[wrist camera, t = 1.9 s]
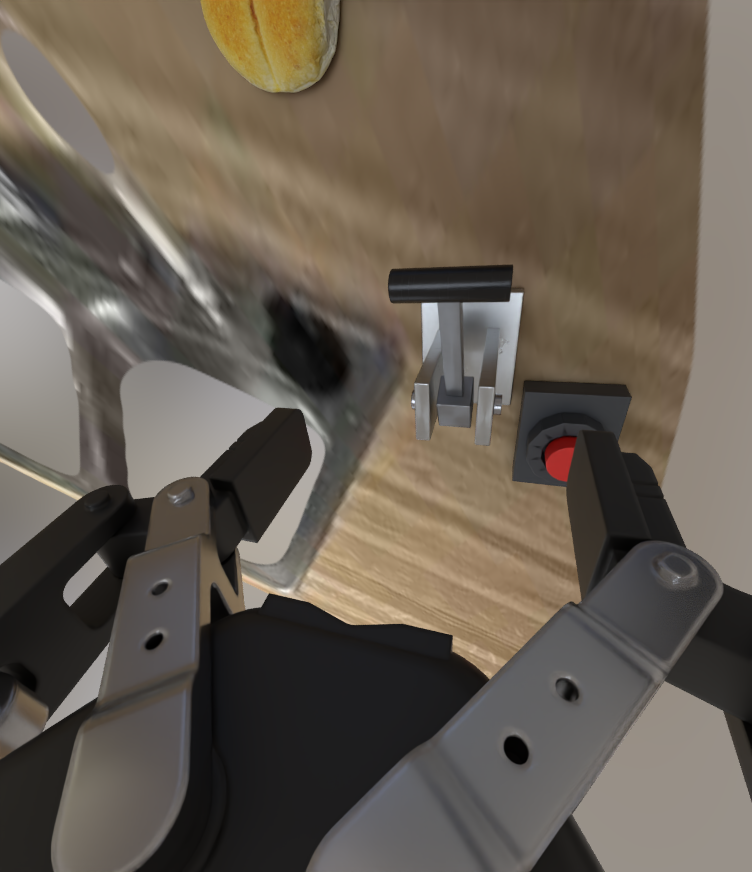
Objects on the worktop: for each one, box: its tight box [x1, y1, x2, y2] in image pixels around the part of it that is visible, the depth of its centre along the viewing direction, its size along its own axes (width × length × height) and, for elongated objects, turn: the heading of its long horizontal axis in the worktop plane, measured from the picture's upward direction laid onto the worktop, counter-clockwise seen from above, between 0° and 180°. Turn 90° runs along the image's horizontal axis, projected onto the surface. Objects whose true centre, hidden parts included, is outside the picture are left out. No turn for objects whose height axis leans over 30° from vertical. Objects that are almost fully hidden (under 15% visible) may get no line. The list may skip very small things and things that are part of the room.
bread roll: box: [200, 0, 340, 93], centre depth 24 cm, size 8×9×4 cm
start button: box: [545, 436, 577, 481], centre depth 33 cm, size 4×4×2 cm
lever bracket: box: [411, 288, 524, 446], centre depth 30 cm, size 10×8×12 cm
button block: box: [512, 381, 632, 487], centre depth 35 cm, size 10×8×4 cm
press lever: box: [388, 265, 513, 428], centre depth 23 cm, size 12×6×2 cm, turn 4°
